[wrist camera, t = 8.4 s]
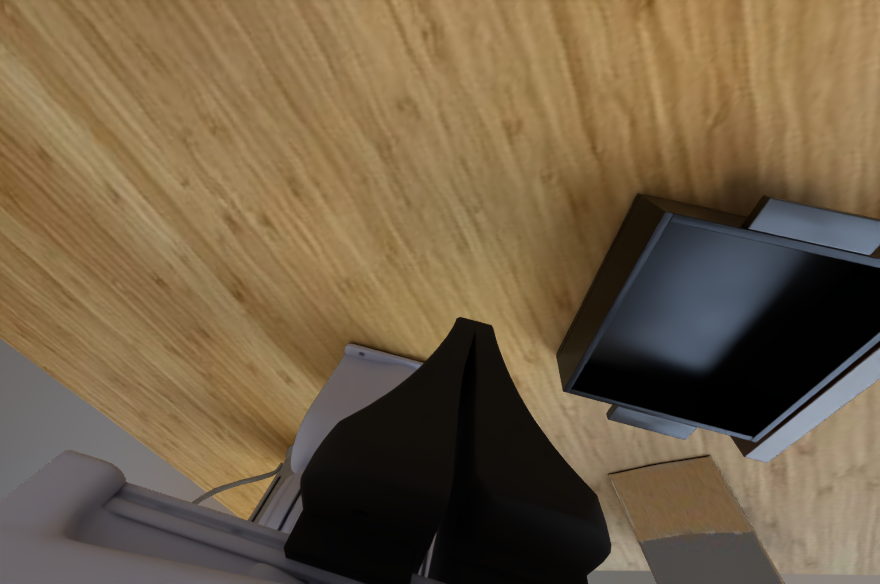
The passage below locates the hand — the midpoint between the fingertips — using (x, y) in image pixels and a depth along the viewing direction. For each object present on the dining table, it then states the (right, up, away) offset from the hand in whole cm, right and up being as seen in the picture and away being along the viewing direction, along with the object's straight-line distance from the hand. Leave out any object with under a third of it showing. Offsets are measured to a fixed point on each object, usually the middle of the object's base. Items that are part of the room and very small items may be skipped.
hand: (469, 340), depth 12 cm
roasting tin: (+14, +1, +7) cm, 16 cm away
